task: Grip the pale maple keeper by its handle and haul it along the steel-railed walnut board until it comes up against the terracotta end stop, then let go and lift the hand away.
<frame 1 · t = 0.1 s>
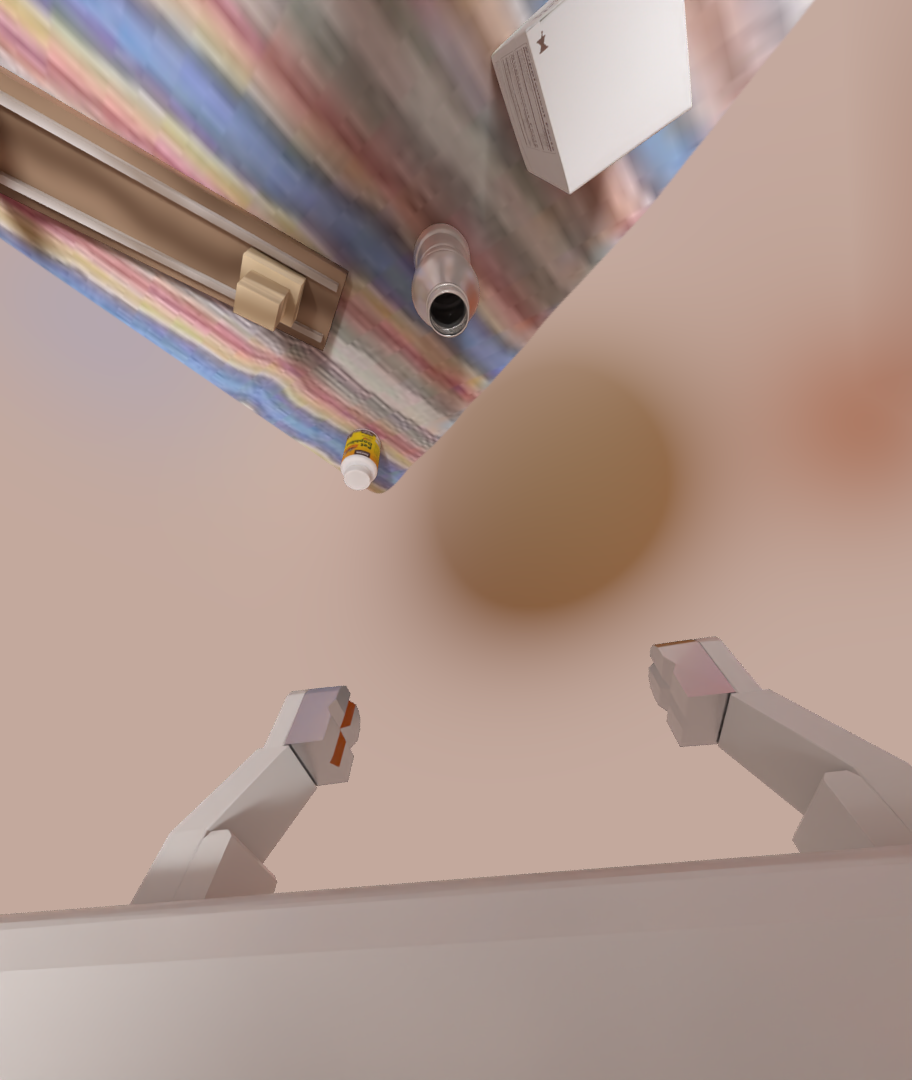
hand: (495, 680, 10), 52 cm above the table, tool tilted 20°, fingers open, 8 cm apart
keeper: (266, 295, 43), point 6 cm above the table, slide at 22.0 cm
supplement bottle: (364, 440, 65), on the table
supplement box: (554, 82, 37), on the table
plastic bottle: (441, 253, 46), on the table
rail board: (178, 226, 43), on the table
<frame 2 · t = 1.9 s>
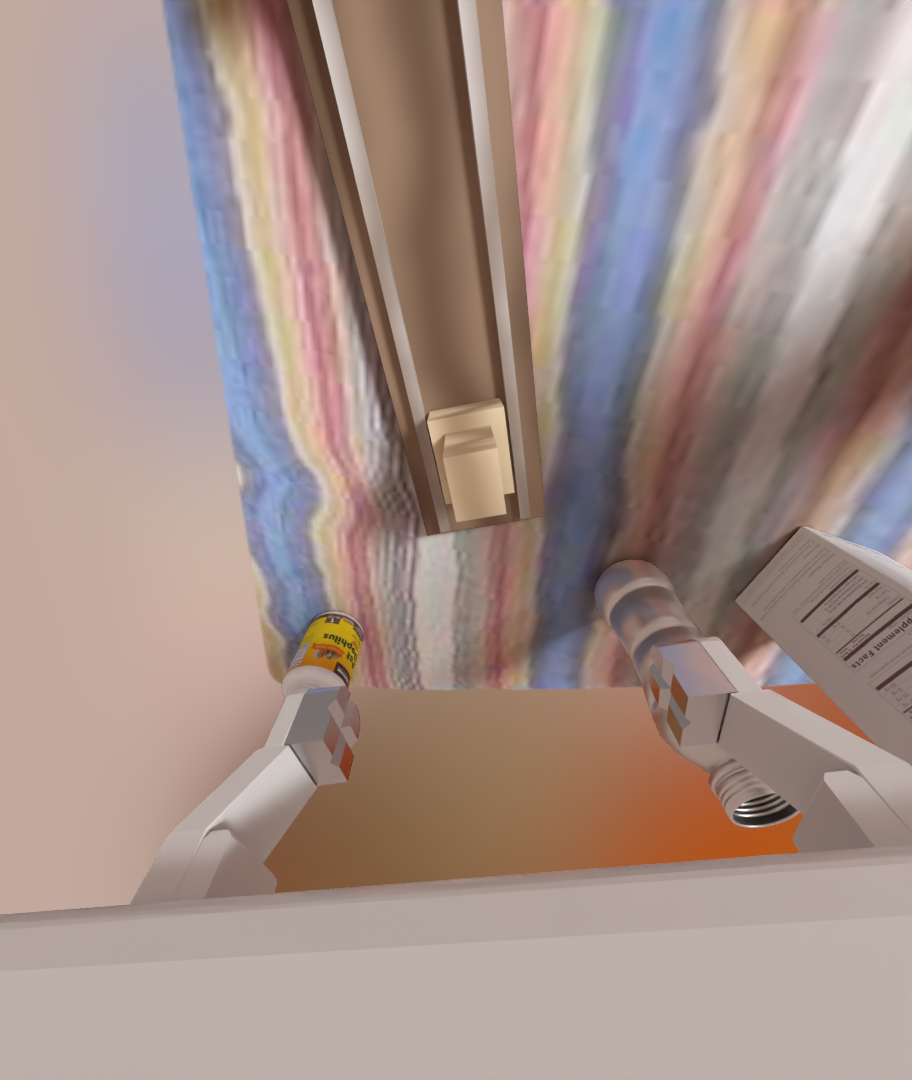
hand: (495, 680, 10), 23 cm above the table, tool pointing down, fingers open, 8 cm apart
keeper: (473, 463, 25), point 6 cm above the table, slide at 22.0 cm
supplement bottle: (338, 627, 41), on the table
supplement box: (802, 576, 37), on the table
plastic bottle: (621, 578, 37), on the table
rail board: (443, 281, 25), on the table
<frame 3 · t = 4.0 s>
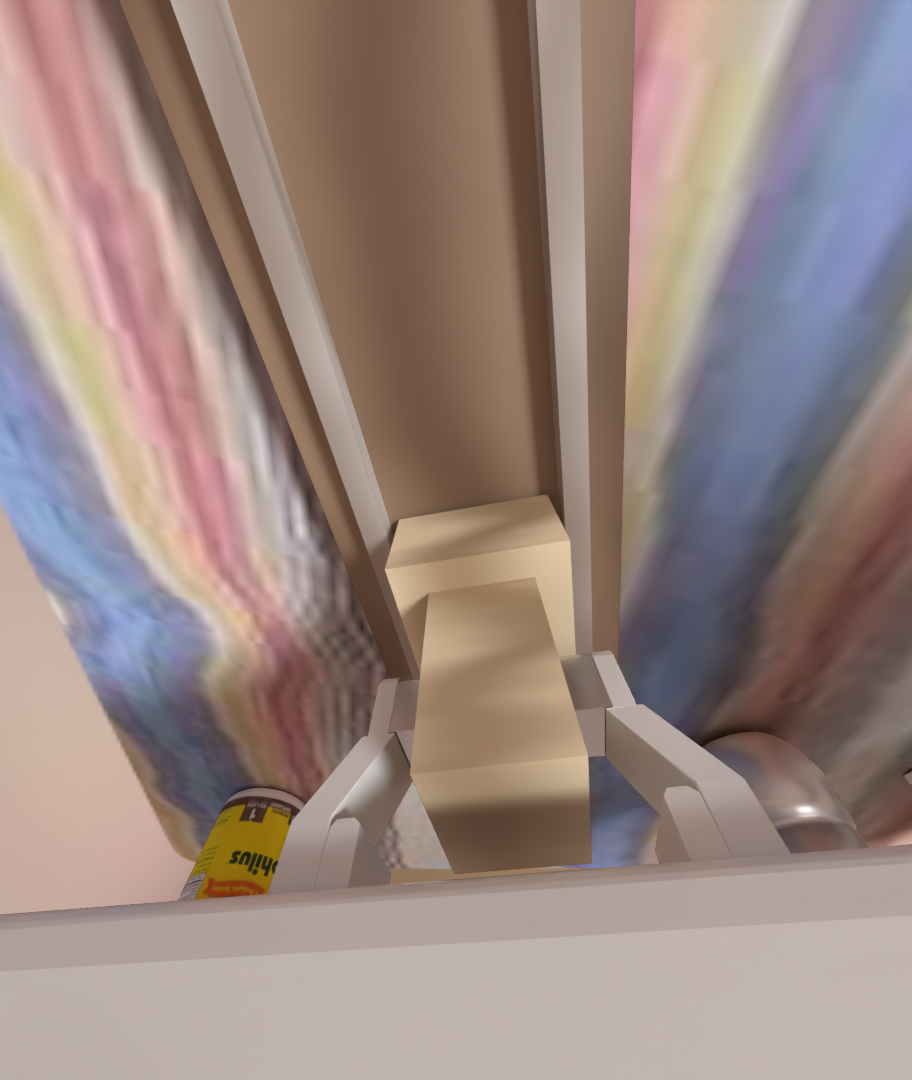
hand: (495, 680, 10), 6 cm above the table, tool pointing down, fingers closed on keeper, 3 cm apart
keeper: (494, 662, 11), point 6 cm above the table, slide at 22.0 cm, touching gripper
supplement bottle: (271, 802, 26), on the table
plastic bottle: (726, 747, 23), on the table
rail board: (424, 238, 11), on the table
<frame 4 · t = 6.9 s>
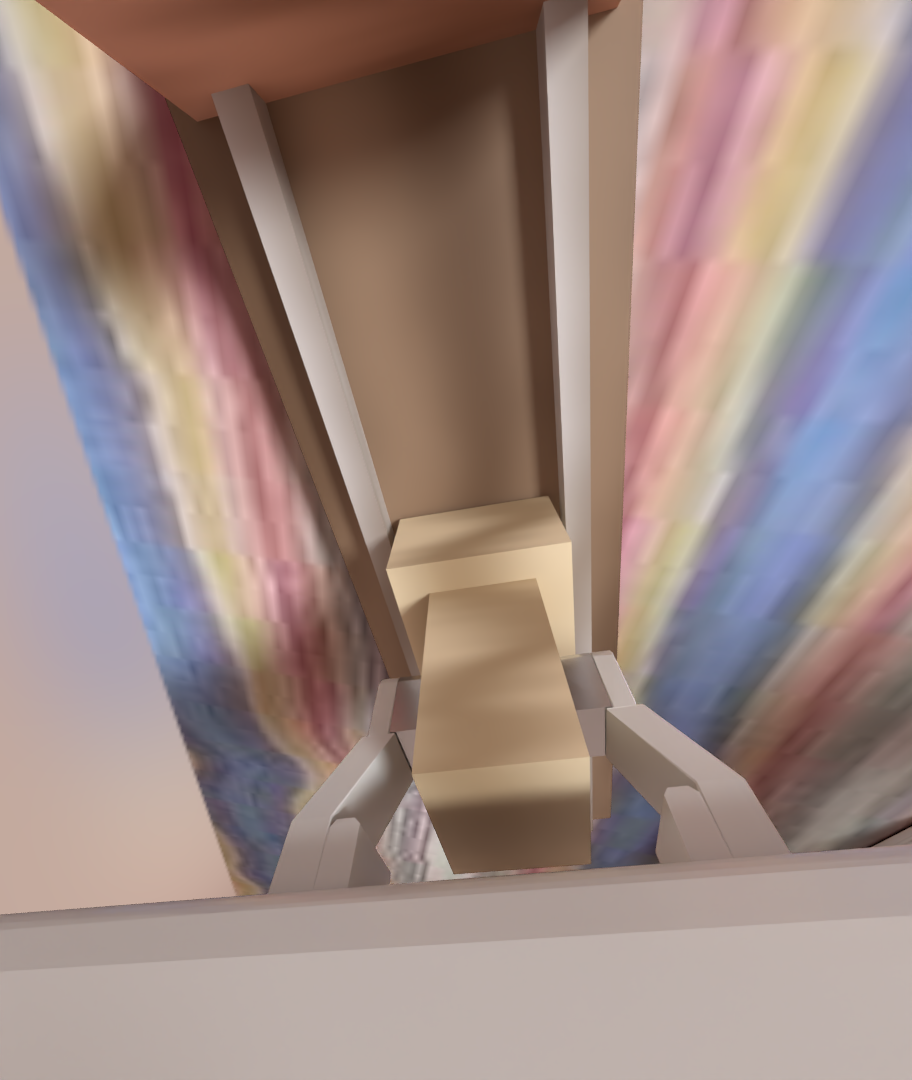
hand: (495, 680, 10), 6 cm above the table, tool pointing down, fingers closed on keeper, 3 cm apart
keeper: (494, 663, 11), point 6 cm above the table, slide at 9.9 cm, touching gripper
rail board: (488, 586, 17), on the table
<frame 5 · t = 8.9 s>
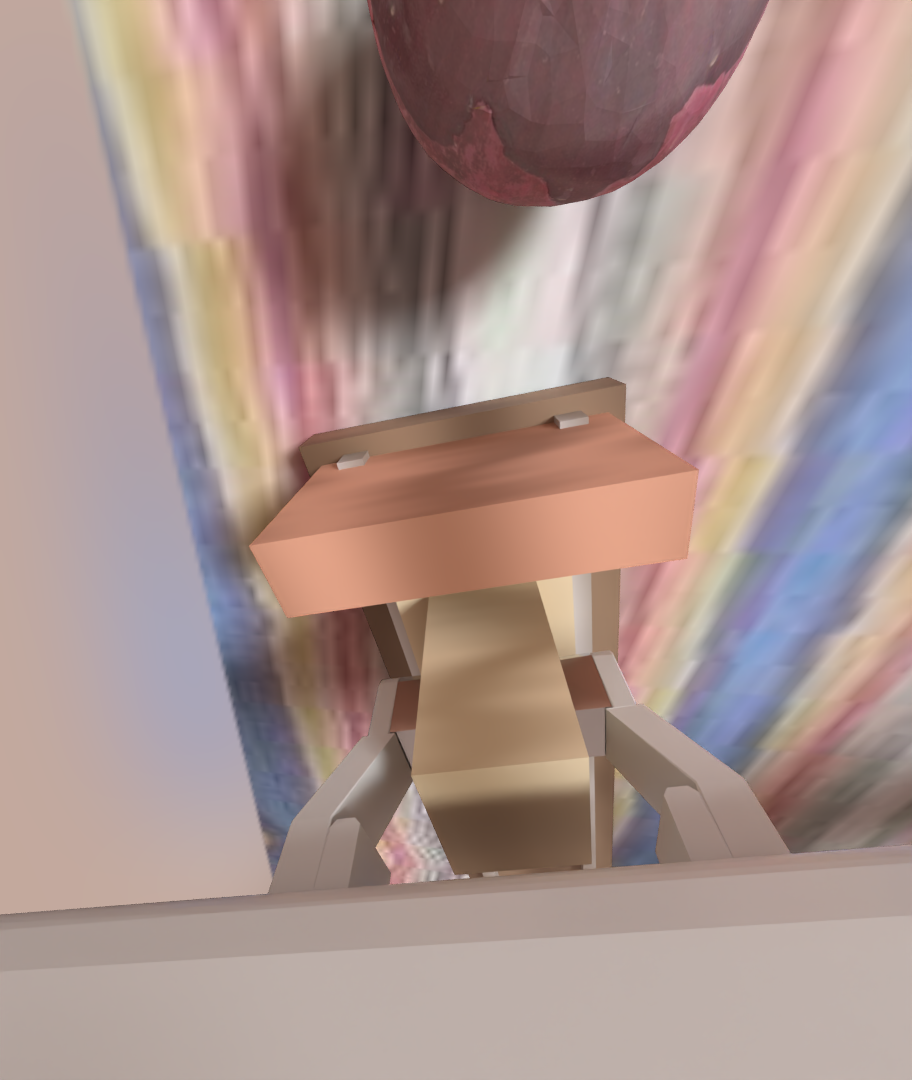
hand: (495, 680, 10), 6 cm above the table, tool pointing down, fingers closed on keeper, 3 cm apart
keeper: (494, 663, 11), point 6 cm above the table, slide at 0.0 cm, touching gripper
vegetable: (523, 87, 9), on the table
rail board: (513, 727, 22), on the table
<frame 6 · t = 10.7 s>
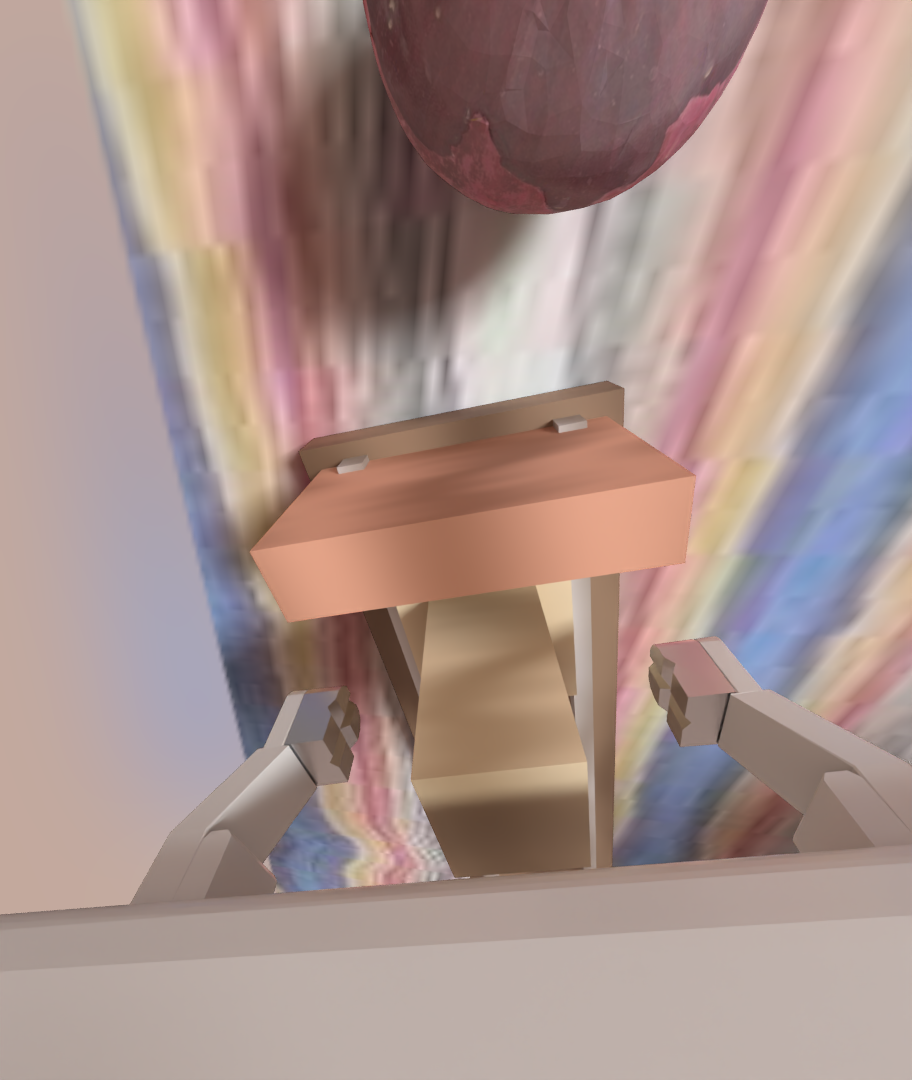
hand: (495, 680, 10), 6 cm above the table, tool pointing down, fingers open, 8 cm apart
keeper: (493, 666, 11), point 6 cm above the table, slide at 0.0 cm
vegetable: (521, 94, 9), on the table
rail board: (514, 728, 22), on the table
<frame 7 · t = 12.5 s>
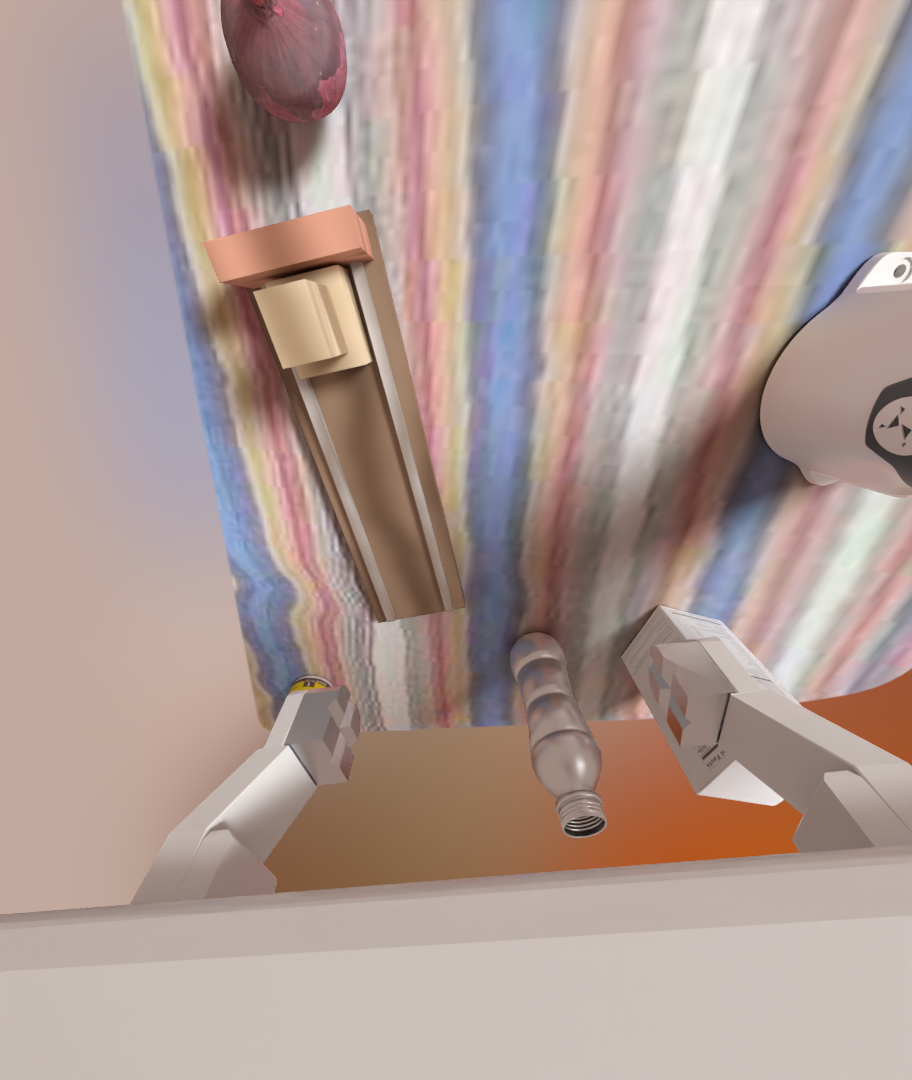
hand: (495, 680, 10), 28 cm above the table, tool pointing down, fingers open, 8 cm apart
keeper: (313, 325, 26), point 6 cm above the table, slide at 0.0 cm
vegetable: (308, 83, 24), on the table
supplement bottle: (314, 686, 51), on the table
supplement box: (668, 638, 49), on the table
plastic bottle: (532, 643, 48), on the table
rail board: (377, 463, 36), on the table
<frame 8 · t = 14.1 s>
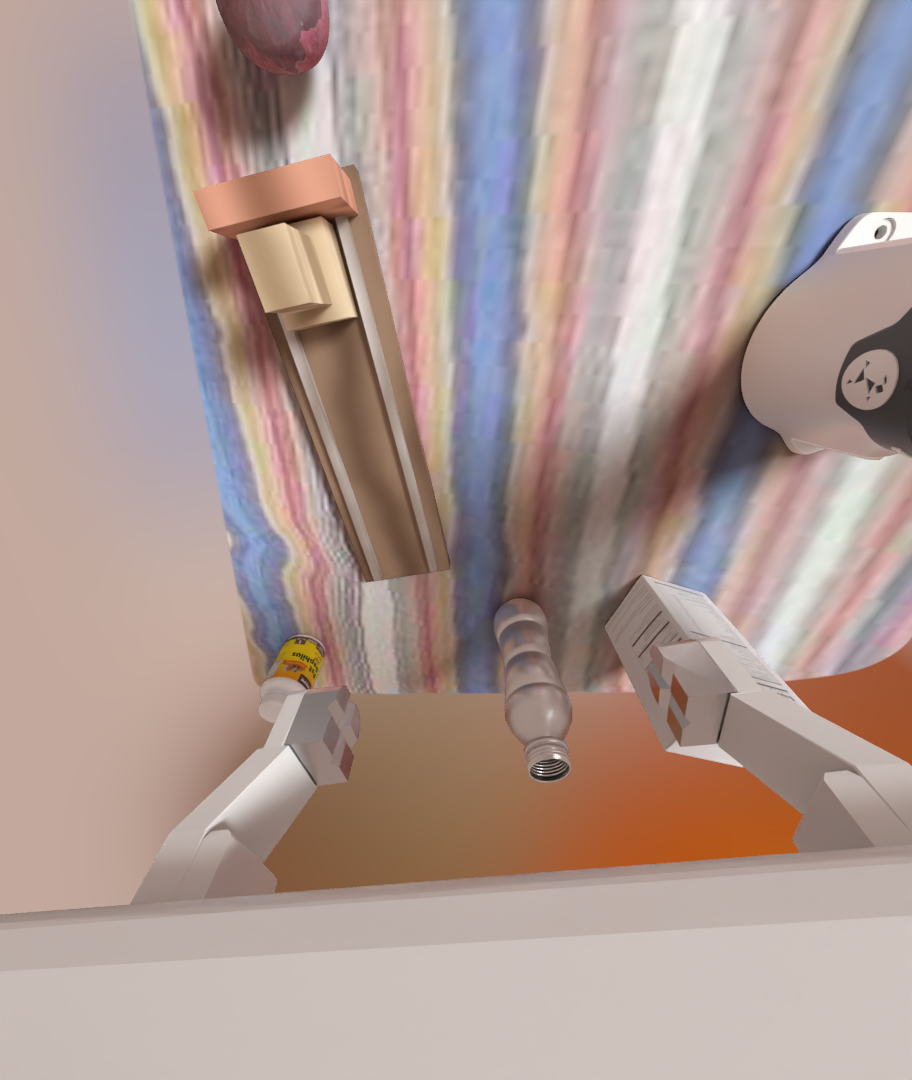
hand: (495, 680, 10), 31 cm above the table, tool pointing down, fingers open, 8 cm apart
keeper: (297, 275, 27), point 6 cm above the table, slide at 0.0 cm
vegetable: (296, 39, 25), on the table
supplement bottle: (306, 646, 53), on the table
supplement box: (652, 609, 49), on the table
plastic bottle: (517, 610, 50), on the table
rail board: (364, 421, 38), on the table
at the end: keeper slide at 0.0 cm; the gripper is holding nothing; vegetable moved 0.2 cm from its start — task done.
